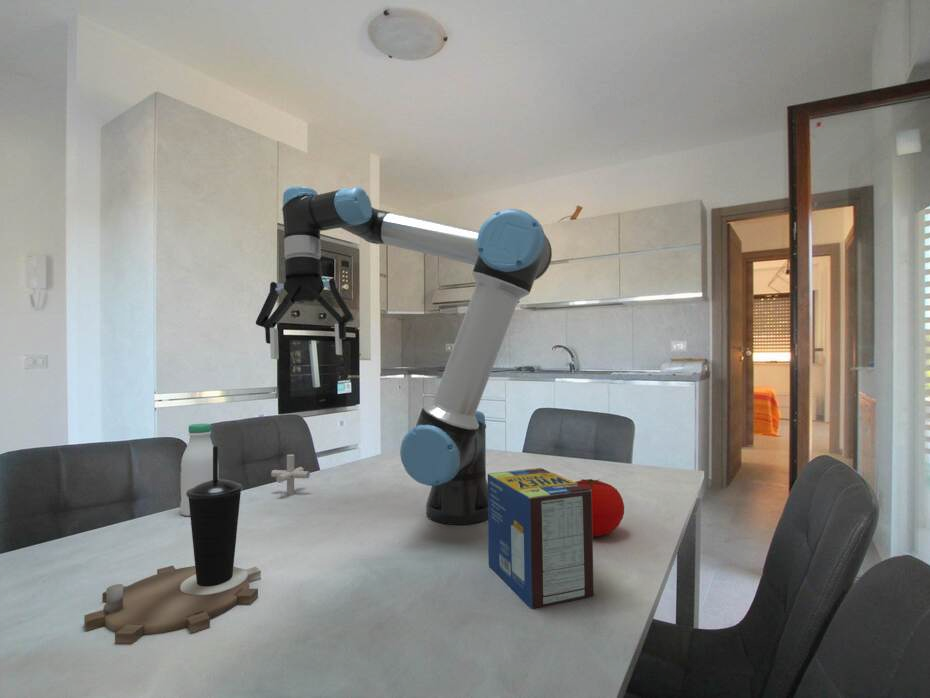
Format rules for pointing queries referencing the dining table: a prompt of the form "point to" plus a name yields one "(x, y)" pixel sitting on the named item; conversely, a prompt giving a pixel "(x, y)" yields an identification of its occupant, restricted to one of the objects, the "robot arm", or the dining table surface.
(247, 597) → the sprocket plate
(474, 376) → the robot arm
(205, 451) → the milk bottle
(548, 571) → the protein box
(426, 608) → the dining table surface
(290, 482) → the pipe connector
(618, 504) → the tomato
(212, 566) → the drinking cup
